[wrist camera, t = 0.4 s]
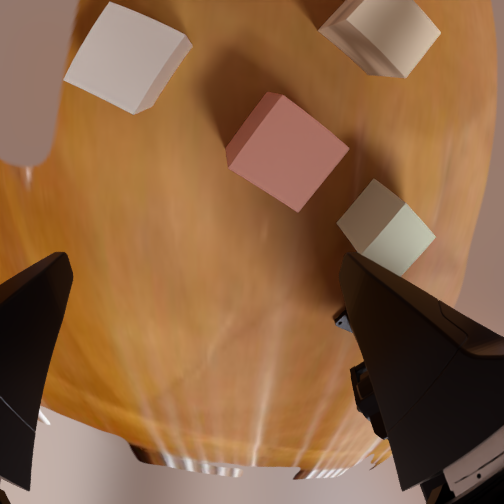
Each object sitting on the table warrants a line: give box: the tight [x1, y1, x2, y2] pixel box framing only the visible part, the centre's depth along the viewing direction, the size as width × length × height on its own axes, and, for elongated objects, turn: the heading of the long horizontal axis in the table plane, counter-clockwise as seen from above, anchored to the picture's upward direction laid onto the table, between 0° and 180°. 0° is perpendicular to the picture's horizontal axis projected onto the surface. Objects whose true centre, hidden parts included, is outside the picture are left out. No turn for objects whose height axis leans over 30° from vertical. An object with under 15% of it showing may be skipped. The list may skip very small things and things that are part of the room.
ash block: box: [318, 0, 441, 78], centre depth 13 cm, size 5×5×5 cm
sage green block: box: [337, 178, 436, 276], centre depth 22 cm, size 5×5×5 cm
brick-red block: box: [225, 92, 350, 212], centre depth 18 cm, size 5×5×5 cm
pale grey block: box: [64, 2, 193, 115], centre depth 13 cm, size 5×5×5 cm
